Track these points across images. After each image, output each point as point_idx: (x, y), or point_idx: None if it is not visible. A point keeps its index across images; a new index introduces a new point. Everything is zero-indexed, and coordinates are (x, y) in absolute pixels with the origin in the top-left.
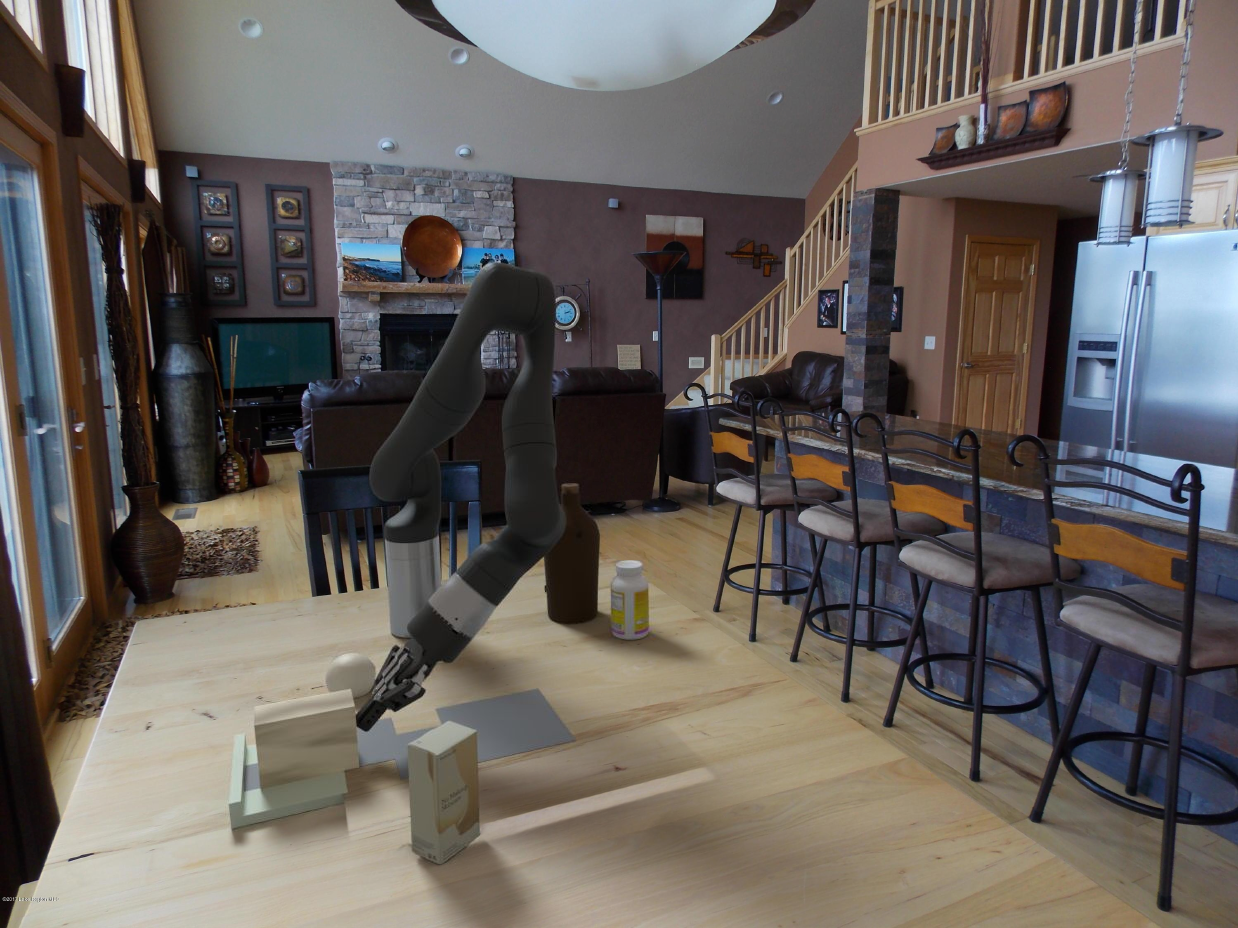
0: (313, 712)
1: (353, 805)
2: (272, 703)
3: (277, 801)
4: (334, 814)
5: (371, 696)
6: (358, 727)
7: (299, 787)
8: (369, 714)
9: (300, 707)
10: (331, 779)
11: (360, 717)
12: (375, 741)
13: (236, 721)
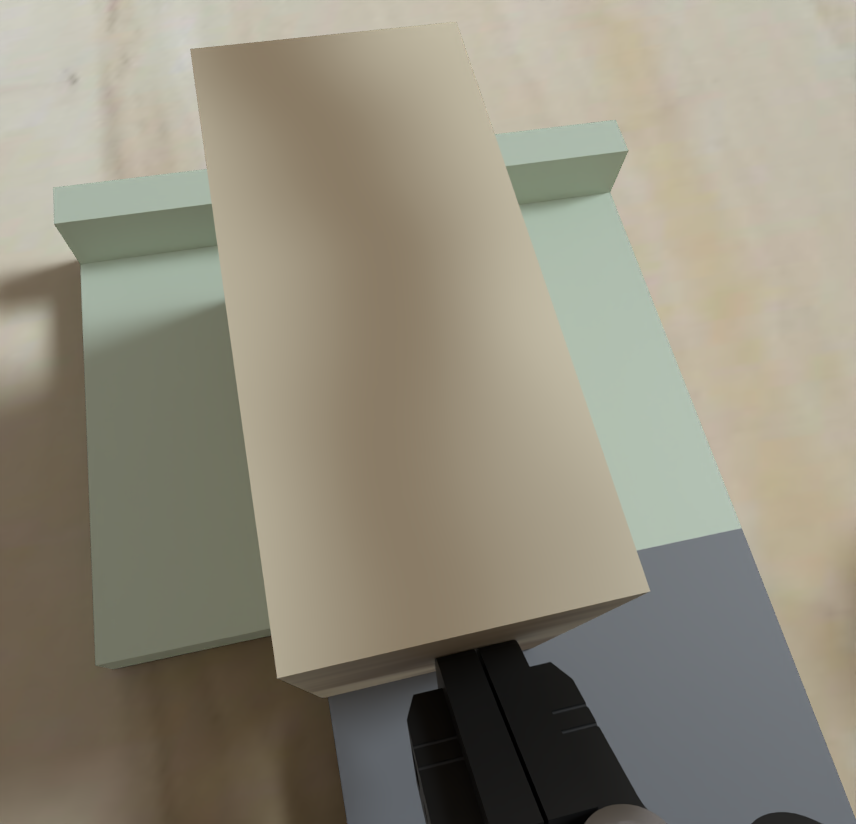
0: (259, 349)
1: (71, 698)
2: (476, 98)
3: (135, 366)
4: (31, 616)
5: (586, 799)
6: (437, 683)
7: (219, 435)
8: (421, 783)
9: (375, 256)
10: (244, 567)
11: (447, 700)
12: None
13: (849, 144)
